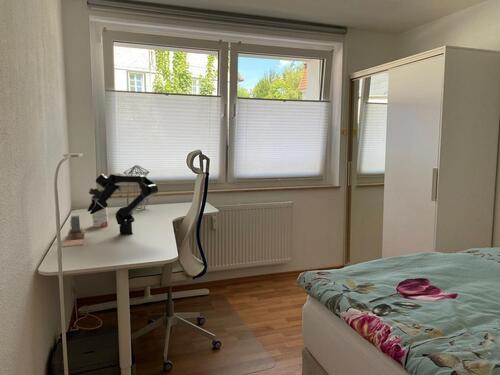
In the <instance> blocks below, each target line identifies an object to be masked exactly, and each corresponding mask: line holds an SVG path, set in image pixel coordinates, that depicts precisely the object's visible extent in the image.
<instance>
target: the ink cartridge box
mask: <svg viewBox="0 0 500 375" xmlns="http://www.w3.org/2000/svg"><path fill="white" fill-rule="evenodd" d="M103 208H104V207H103ZM91 215H92V227H93V228H101V227H102V228H103V227H104V228H105V227H108V226H109V222H108V220H109V219H108V218H109V217H108V206H107V207H106V208H104V209H102V210H100V211H98V212H95V213H93V214H91Z"/></svg>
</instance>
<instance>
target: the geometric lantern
mask: <svg viewBox="0 0 500 375" xmlns="http://www.w3.org/2000/svg"><path fill="white" fill-rule="evenodd" d="M128 171H129V172H128ZM149 173H150V171H149V170H147V169H145V168H143V167H141V166H140V165H134V166H132V167H131V168H128V169H127V170H126V171H124V172H123V175H126V176H141V175H144V176H146V177H147V176H148V174H149ZM126 183H127V187H129V184H132V182H126ZM133 185H134V186H133V200H135V199H136V198H137V197H138V196H139V195H140V194H141V190H139V189H140V186H139V184H138V182H133ZM138 187H139V189H138ZM126 197H127V198H126V206H128V205H129V204H130V202H129V191H127V196H126ZM148 205H149V198H147V199H146V203H142V204H141V205H140V206H138V207H137V208H136V209H135V210H134V211H136V212H137V211H138V212H140V211H144V210H146V207H147V206H148ZM134 211H133V212H134Z"/></svg>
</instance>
